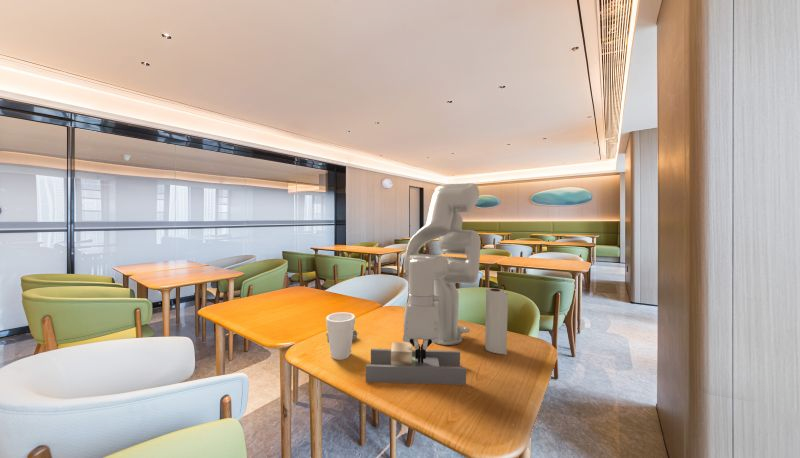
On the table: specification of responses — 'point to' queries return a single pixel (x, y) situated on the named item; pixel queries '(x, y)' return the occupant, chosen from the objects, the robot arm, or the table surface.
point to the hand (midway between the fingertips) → (420, 360)
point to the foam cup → (340, 334)
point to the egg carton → (352, 337)
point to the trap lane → (417, 368)
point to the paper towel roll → (496, 321)
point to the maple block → (401, 354)
